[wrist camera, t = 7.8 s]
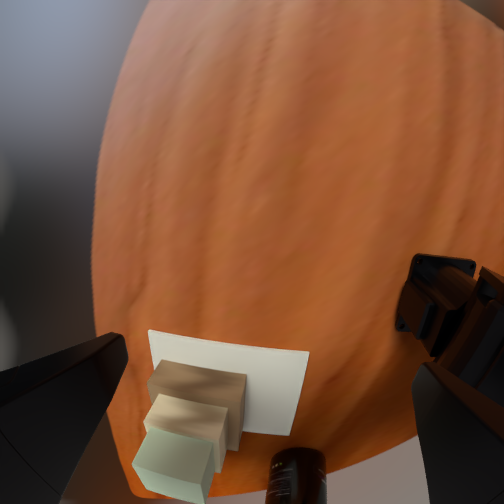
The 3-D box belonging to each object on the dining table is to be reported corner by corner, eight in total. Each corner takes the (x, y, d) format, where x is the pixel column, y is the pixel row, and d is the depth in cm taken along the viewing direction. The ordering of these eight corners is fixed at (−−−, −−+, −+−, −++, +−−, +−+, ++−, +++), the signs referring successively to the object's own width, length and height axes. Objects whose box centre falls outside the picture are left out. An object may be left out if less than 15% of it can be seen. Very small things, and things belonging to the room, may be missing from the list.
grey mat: (309, 351, 22) (309, 353, 22) (289, 433, 26) (289, 435, 25) (149, 329, 23) (147, 330, 23) (165, 413, 27) (164, 415, 27)
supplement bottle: (336, 456, 26) (340, 536, 15) (298, 474, 28) (294, 546, 17) (297, 439, 26) (292, 531, 14) (259, 459, 28) (246, 538, 17)
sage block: (213, 442, 17) (200, 484, 13) (215, 469, 18) (205, 505, 15) (150, 426, 17) (131, 464, 14) (160, 456, 19) (146, 489, 15)
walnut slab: (246, 374, 23) (240, 402, 20) (243, 426, 25) (238, 451, 22) (161, 359, 24) (146, 382, 21) (171, 412, 26) (160, 434, 23)
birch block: (227, 408, 20) (218, 440, 17) (227, 444, 22) (220, 473, 19) (158, 393, 21) (143, 421, 17) (168, 431, 23) (156, 457, 19)
